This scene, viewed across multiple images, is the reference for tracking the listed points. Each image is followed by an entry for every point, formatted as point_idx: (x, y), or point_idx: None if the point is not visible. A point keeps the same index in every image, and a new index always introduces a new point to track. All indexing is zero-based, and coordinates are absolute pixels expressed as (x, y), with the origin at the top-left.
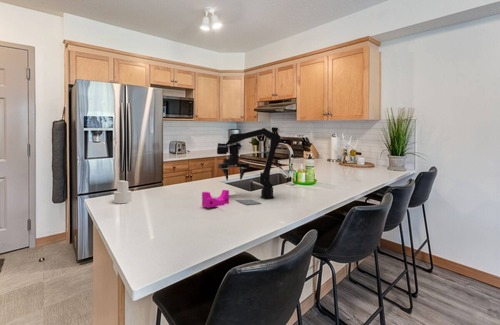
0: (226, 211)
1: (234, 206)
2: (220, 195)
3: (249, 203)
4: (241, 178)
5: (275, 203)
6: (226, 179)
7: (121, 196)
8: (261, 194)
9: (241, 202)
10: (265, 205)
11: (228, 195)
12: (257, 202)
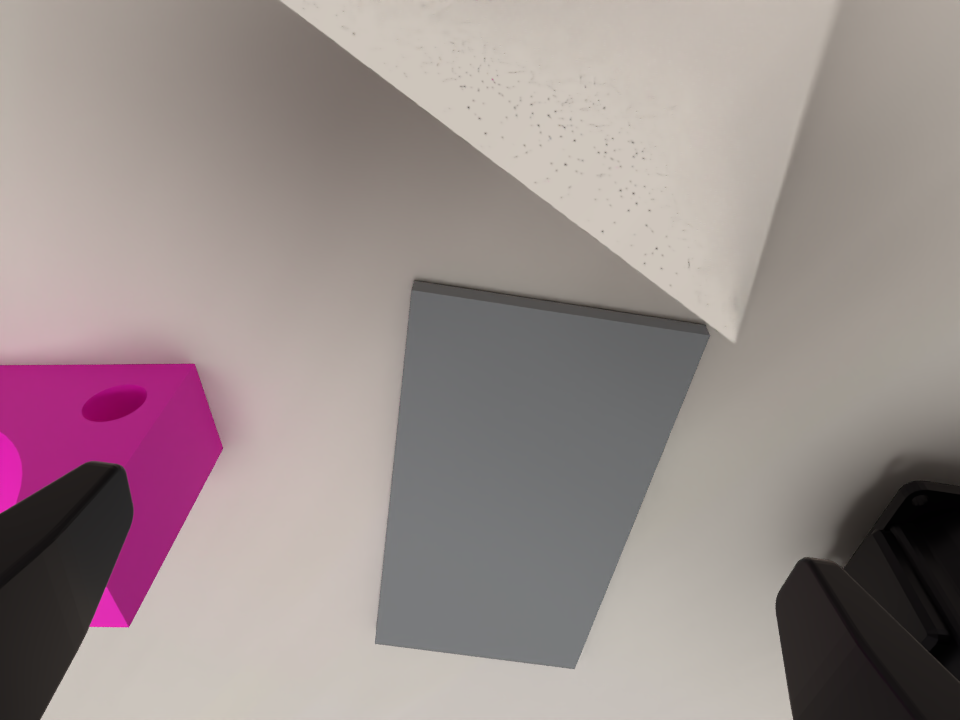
0: (60, 693)
1: (216, 602)
2: (21, 456)
3: (432, 630)
4: (801, 662)
5: (734, 700)
6: (70, 484)
7: None
8: (885, 567)
9: (385, 543)
10: (555, 706)
11: (160, 546)
12: (560, 637)
